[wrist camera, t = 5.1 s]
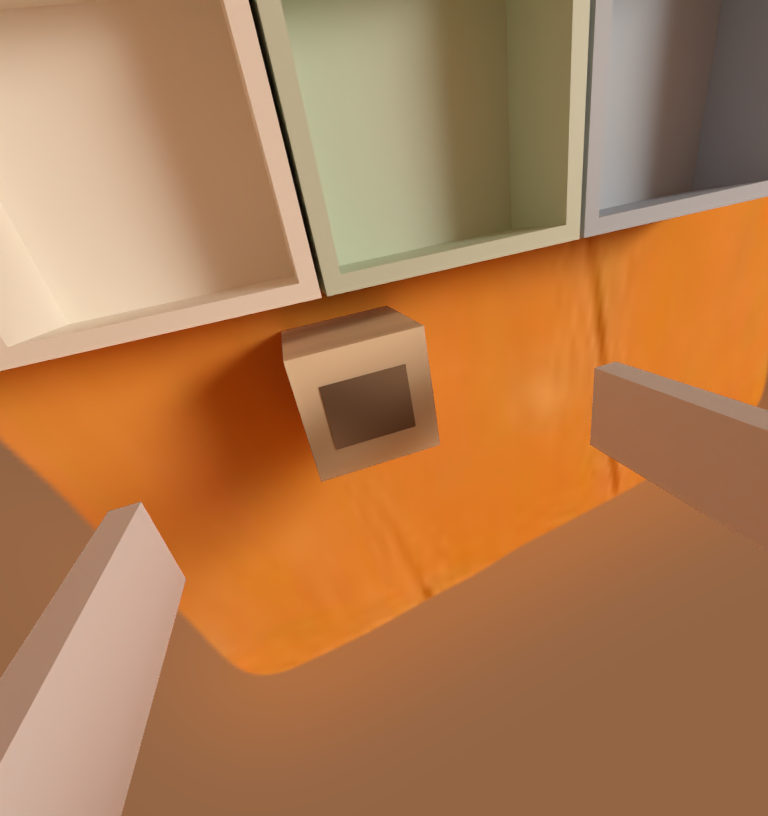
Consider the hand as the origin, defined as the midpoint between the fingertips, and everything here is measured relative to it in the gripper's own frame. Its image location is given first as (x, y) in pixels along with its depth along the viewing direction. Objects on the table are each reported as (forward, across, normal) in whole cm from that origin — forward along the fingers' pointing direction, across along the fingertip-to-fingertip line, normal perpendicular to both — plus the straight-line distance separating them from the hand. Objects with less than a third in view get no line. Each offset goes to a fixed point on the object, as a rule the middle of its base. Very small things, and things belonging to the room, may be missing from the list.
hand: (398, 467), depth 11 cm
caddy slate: (+8, +14, +10) cm, 19 cm away
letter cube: (+9, 0, 0) cm, 9 cm away
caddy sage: (+8, +4, +10) cm, 13 cm away
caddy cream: (+8, -6, +10) cm, 14 cm away
